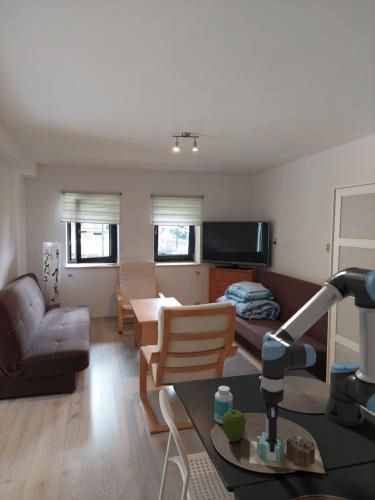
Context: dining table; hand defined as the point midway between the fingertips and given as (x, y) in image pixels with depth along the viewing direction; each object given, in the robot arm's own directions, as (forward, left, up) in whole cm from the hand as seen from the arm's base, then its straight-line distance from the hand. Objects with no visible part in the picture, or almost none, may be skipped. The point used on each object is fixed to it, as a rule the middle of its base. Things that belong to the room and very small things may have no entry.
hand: (270, 446), depth 120 cm
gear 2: (-10, 0, -3) cm, 10 cm away
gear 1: (0, 0, -3) cm, 3 cm away
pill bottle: (+18, -20, -4) cm, 28 cm away
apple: (+13, -8, -4) cm, 16 cm away
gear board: (-5, 0, -4) cm, 7 cm away
